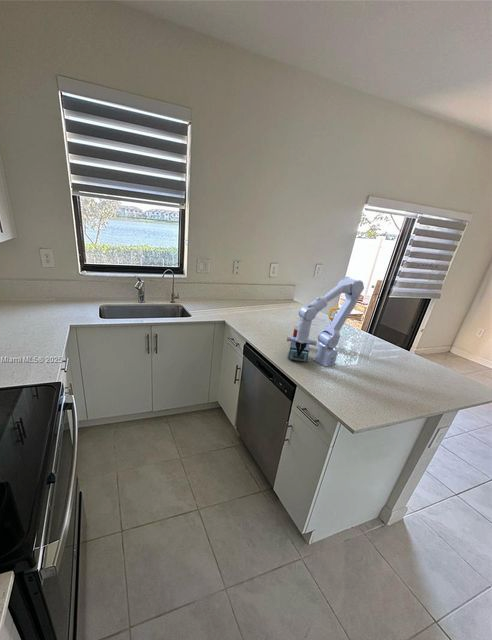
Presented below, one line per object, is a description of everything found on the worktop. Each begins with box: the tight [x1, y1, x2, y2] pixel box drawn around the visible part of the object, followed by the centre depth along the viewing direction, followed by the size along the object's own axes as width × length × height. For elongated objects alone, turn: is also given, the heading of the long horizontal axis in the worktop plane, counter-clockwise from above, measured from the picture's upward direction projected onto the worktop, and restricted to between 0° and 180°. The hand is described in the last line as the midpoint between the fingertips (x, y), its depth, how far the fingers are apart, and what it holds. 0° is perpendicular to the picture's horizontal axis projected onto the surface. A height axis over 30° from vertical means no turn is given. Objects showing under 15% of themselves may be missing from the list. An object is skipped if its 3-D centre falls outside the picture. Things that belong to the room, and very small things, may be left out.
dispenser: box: [287, 341, 310, 362], centre depth 156 cm, size 10×10×7 cm
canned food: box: [292, 325, 299, 337], centre depth 170 cm, size 8×8×11 cm
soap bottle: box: [322, 306, 341, 350], centre depth 169 cm, size 9×9×25 cm
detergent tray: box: [289, 349, 309, 362], centre depth 152 cm, size 13×8×5 cm, turn 165°
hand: (298, 356), depth 148 cm, fingers closed
